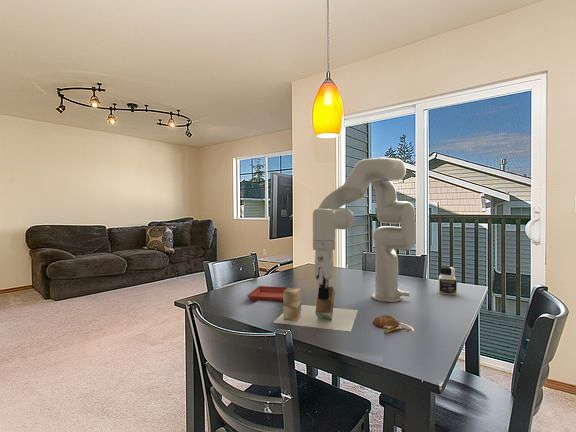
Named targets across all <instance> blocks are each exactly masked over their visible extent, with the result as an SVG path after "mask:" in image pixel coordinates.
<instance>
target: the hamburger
mask: <svg viewBox="0 0 576 432" xmlns="http://www.w3.org/2000/svg"><path fill="white" fill-rule="evenodd" d="M372 324H373V325H374V326H375V327H376V328H381V329H384V333H386V334H388V333H390V332H395V331H396V330H399V329H401V330H402V331H404V330H405V331H406V332H409V331H411V330H412V331H413V332H414V331H415V329H414V328H413V327H412V326H411V325H409V324H407V323H403V322H400V321H399V320H397V319H396V318H395V316H392V315H386V314H382V315H378V316H375V317H374V319H373V321H372ZM401 325H403V326H406V327H408V328H405V327H402V326H401Z"/></svg>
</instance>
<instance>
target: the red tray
mask: <svg viewBox="0 0 576 432" xmlns="http://www.w3.org/2000/svg"><path fill="white" fill-rule="evenodd" d="M287 288H291V287H289V286H288V287H287V286H285V287H284V286H267V285H266V286H265V285H259V286H257V287H256V288H255V289H254V290H252V291H251V292H249V293H248V294H247V298H248V299H250V301H252V302H254V303H255V302H258V301H273V302H274V301H275V302H283V291H284V290H286V289H287Z"/></svg>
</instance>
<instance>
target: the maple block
mask: <svg viewBox="0 0 576 432" xmlns="http://www.w3.org/2000/svg"><path fill="white" fill-rule="evenodd" d="M282 302H283V303H282V305H283V309H282V310H283V312H282V313H283V320H289V321H298V320H299V319H300V318H301V305H302V288H297V287H290V288H287V289H286V290H284V291H283V301H282Z"/></svg>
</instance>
